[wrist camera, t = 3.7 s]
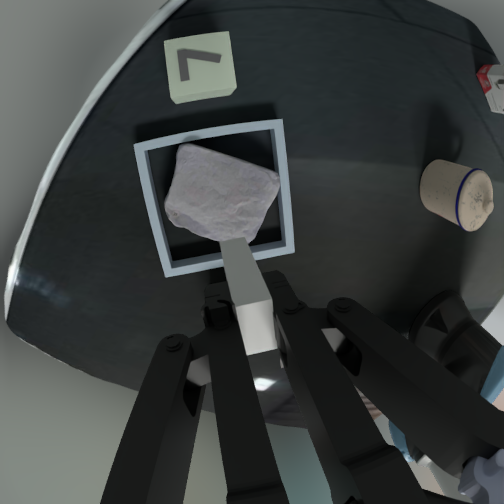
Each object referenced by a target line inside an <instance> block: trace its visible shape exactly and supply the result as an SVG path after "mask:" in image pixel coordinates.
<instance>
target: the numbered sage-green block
mask: <svg viewBox="0 0 504 504" xmlns="http://www.w3.org/2000/svg"><path fill="white" fill-rule="evenodd" d="M164 47H165V56H166V65H167V73H168V80H169V88H170V95H171V99H172V100H173V101H174V102H175V103H176V104H178V103H183V102H189V101H194V100H200V99H206V98H213V97H219V96H227V95H230V94H231V93H232V92H233V91H234V90H235V89H236V88H237V86H236V79H235V72H234V65H233V58H232V51H231V44H230V37H229V31H226V32H217V33H208V34H201V35H194V36H188V37H182V38H177V39H171V40H166V41H164Z"/></svg>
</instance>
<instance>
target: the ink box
mask: <svg viewBox="0 0 504 504" xmlns="http://www.w3.org/2000/svg"><path fill="white" fill-rule="evenodd" d="M476 75H477V77H478V80H479V82H480V84H481V86H482V89H483V91H484V93H485V96H486V98H487V101H488V103H489V106H490V109H491V111H492V112H496V113H503V114H504V65H483V66H482V67H481V68H480V70H479V71H478V72H477V74H476Z"/></svg>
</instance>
